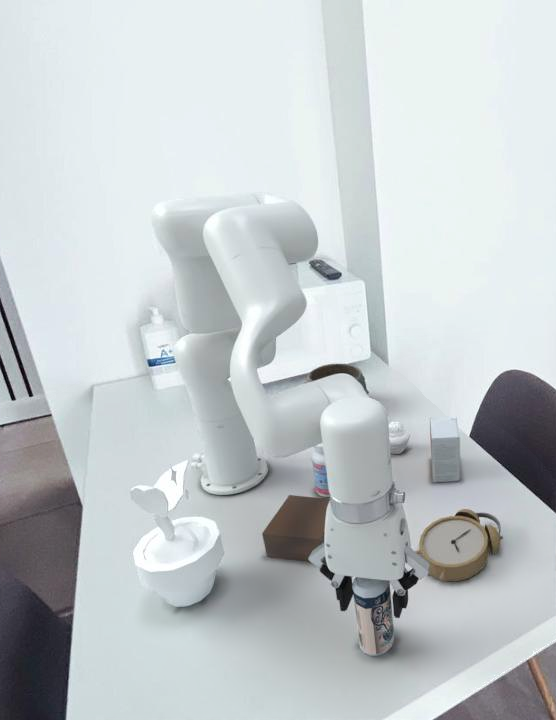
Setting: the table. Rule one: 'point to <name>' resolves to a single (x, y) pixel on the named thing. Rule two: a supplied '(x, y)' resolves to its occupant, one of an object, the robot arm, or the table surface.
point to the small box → (445, 449)
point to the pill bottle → (320, 471)
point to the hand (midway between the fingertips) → (373, 605)
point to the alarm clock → (459, 545)
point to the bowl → (337, 369)
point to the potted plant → (176, 544)
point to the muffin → (398, 437)
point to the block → (296, 528)
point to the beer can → (373, 615)
